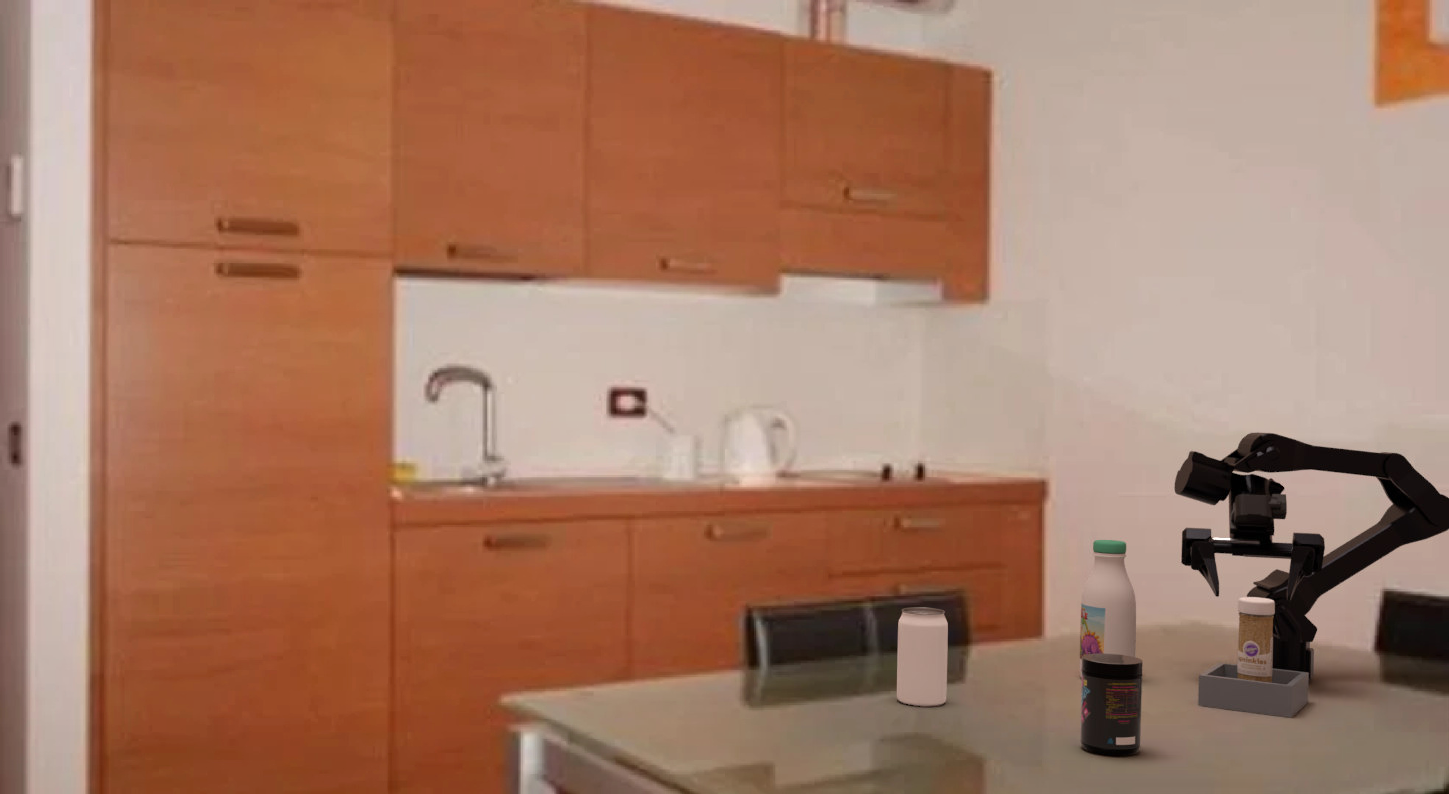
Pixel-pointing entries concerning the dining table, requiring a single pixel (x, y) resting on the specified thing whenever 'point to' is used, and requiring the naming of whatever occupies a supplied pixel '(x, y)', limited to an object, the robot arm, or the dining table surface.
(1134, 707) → the supplement container
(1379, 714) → the dining table surface
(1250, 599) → the sprinkles bottle
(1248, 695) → the bin
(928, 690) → the can
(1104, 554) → the milk bottle
